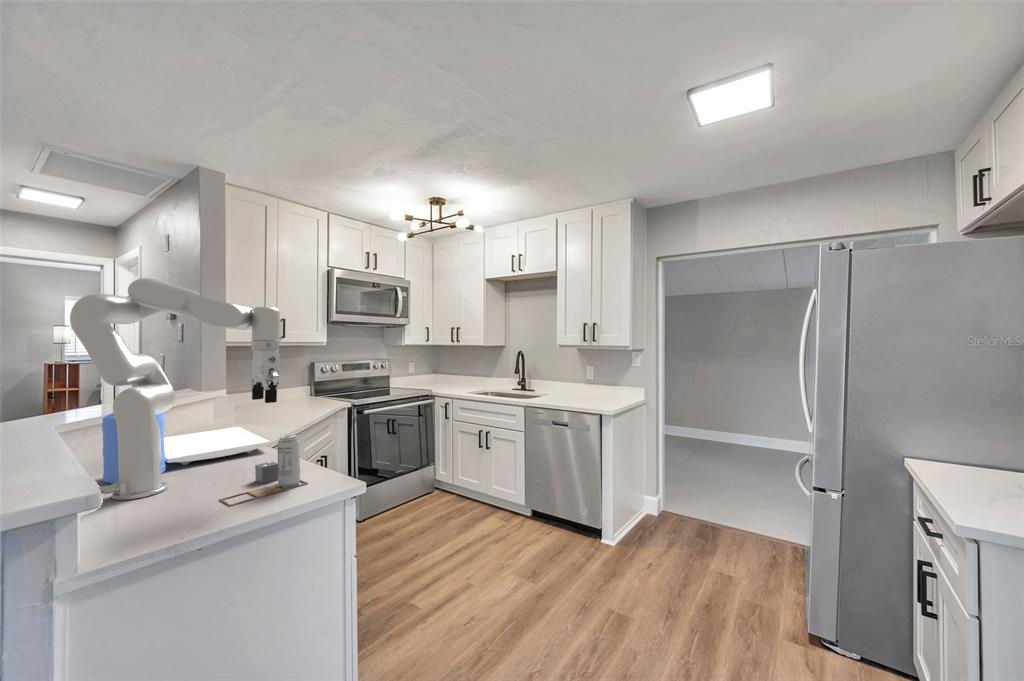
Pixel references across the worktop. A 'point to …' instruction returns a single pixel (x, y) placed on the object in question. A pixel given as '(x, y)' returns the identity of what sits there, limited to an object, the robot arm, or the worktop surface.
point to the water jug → (112, 447)
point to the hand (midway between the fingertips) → (264, 400)
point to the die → (266, 472)
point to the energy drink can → (288, 461)
